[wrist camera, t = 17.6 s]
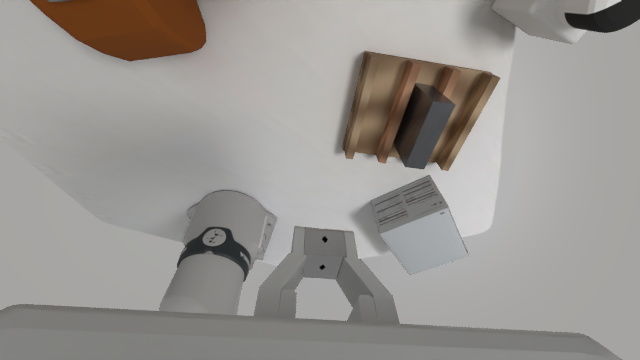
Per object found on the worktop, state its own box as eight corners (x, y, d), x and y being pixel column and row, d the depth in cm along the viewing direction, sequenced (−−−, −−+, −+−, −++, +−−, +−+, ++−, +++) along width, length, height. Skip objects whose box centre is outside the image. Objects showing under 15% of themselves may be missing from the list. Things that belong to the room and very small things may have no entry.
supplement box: (369, 200, 54) (377, 234, 46) (429, 173, 49) (449, 206, 42) (397, 242, 62) (408, 277, 55) (451, 223, 58) (471, 257, 51)
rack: (441, 160, 47) (449, 170, 44) (342, 147, 45) (344, 158, 42) (488, 71, 38) (502, 78, 35) (365, 50, 36) (369, 56, 33)
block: (408, 143, 44) (424, 169, 37) (391, 140, 43) (405, 166, 37) (432, 85, 38) (455, 104, 31) (413, 82, 38) (433, 101, 31)
